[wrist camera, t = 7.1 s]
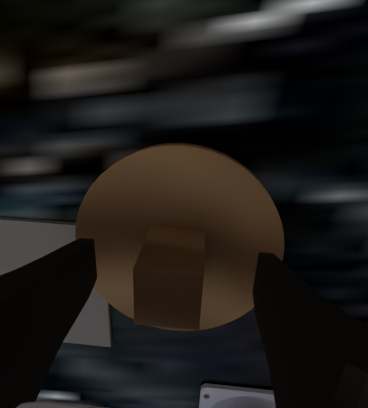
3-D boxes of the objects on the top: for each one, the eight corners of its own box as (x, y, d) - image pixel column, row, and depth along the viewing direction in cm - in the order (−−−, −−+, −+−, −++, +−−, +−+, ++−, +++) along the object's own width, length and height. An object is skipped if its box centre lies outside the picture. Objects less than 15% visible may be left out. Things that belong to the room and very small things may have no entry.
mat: (112, 342, 22) (110, 347, 21) (-13, 329, 22) (-17, 333, 22) (104, 224, 18) (102, 227, 18) (-46, 213, 19) (-51, 215, 18)
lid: (263, 325, 16) (282, 406, 12) (91, 309, 17) (52, 381, 13) (296, 149, 12) (342, 178, 8) (74, 136, 13) (11, 157, 9)
